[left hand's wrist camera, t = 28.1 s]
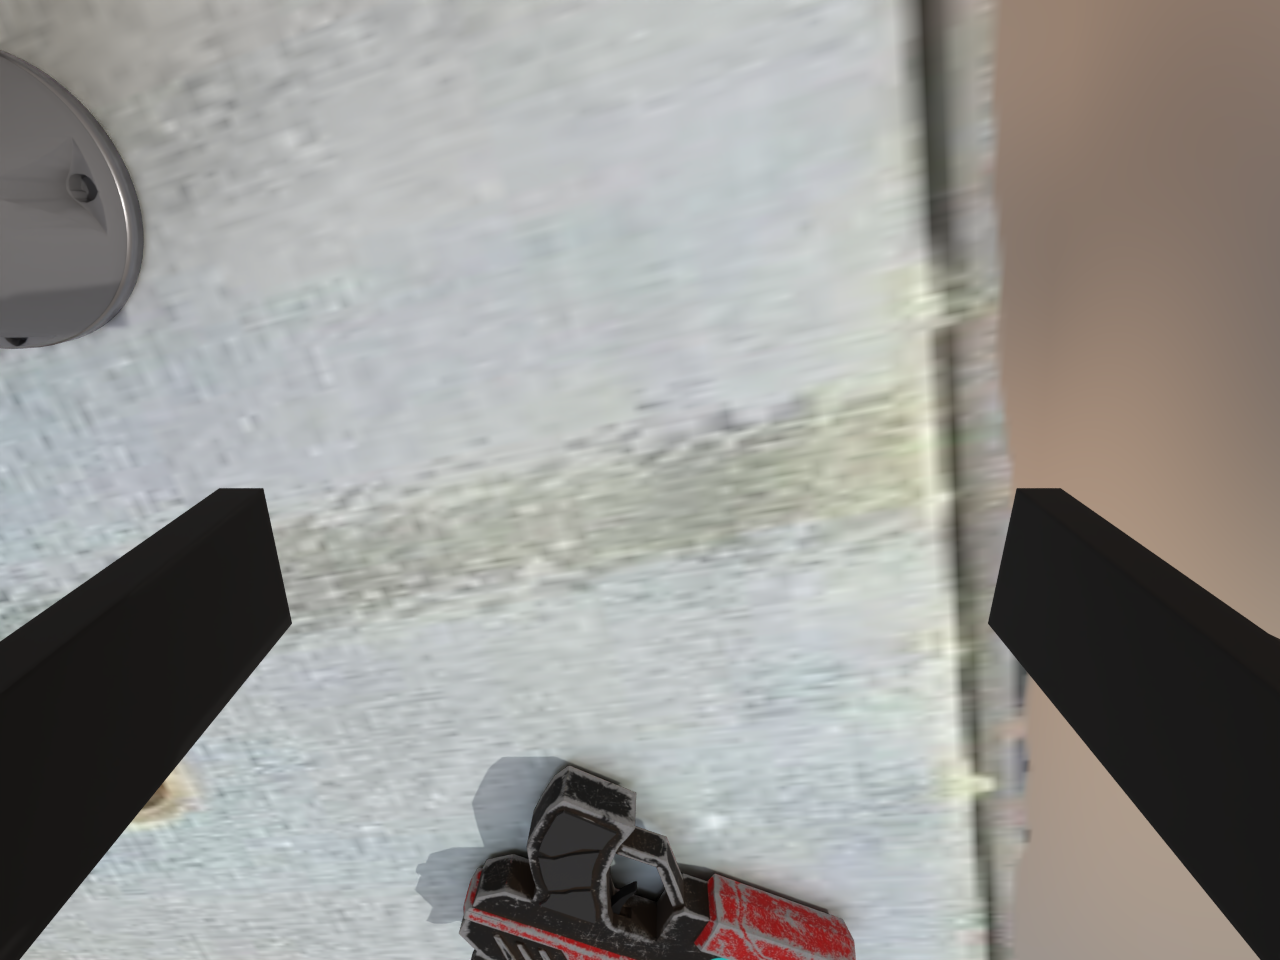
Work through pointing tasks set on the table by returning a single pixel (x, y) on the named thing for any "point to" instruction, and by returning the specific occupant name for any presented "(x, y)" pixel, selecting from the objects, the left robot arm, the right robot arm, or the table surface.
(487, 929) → the gun
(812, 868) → the table surface
